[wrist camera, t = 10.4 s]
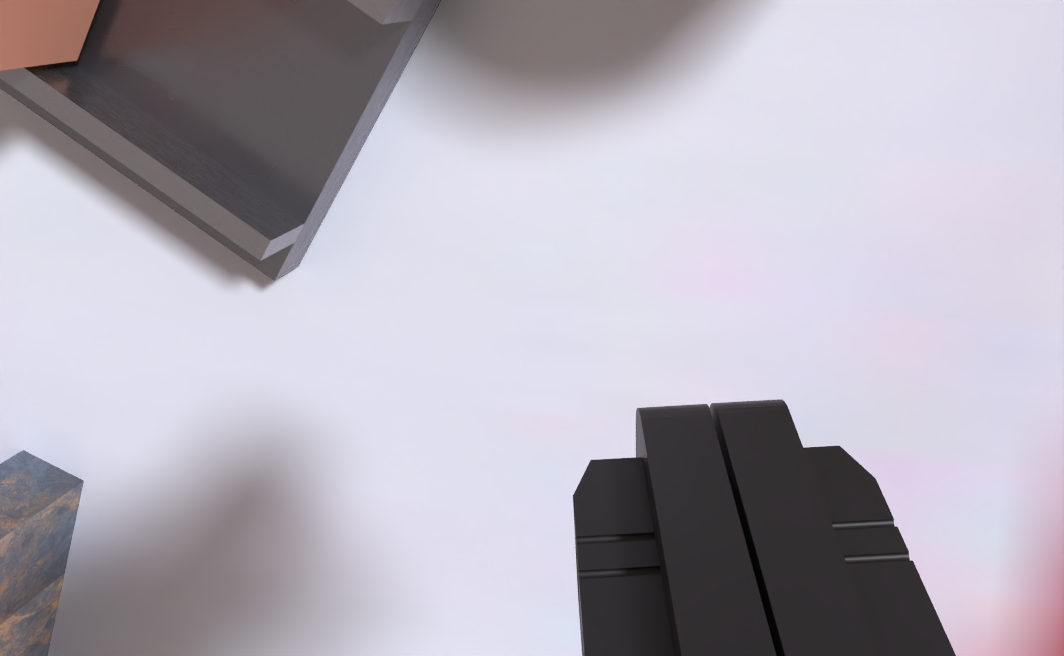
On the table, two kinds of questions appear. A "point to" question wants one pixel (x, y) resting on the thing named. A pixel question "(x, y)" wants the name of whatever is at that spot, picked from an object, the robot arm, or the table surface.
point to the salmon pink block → (43, 31)
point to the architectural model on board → (33, 550)
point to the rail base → (232, 106)
